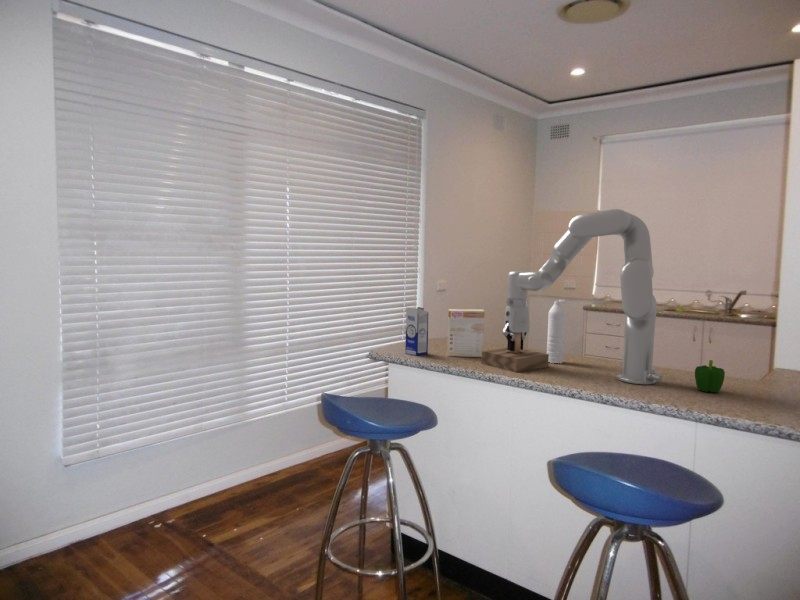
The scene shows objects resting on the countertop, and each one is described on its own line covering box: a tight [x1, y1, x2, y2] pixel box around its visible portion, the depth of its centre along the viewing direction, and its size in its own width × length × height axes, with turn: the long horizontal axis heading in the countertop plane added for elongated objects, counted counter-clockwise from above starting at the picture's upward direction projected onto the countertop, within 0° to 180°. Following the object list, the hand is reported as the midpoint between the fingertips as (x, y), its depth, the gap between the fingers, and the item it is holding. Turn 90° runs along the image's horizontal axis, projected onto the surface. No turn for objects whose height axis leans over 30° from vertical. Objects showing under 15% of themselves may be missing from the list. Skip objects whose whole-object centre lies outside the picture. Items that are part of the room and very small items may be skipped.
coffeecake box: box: [447, 308, 485, 358], centre depth 228 cm, size 15×7×20 cm, turn 84°
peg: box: [510, 333, 521, 354], centre depth 210 cm, size 4×4×12 cm
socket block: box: [480, 347, 549, 373], centre depth 210 cm, size 18×18×5 cm
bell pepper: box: [694, 359, 726, 393], centre depth 175 cm, size 8×8×10 cm
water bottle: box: [546, 299, 566, 364], centre depth 218 cm, size 9×6×25 cm
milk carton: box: [404, 306, 430, 357], centre depth 229 cm, size 7×7×20 cm
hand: (515, 349), depth 210 cm, fingers closed on peg, 4 cm apart
